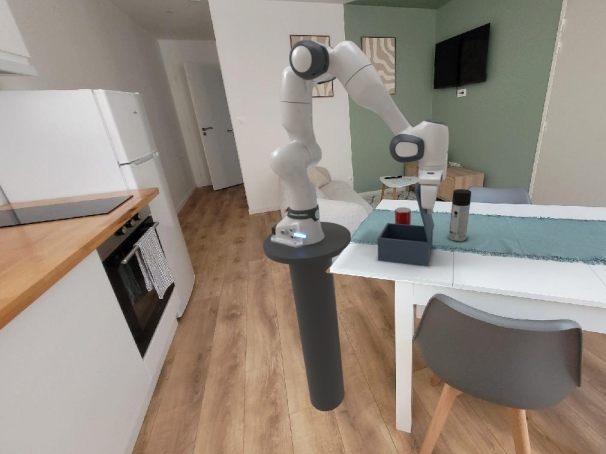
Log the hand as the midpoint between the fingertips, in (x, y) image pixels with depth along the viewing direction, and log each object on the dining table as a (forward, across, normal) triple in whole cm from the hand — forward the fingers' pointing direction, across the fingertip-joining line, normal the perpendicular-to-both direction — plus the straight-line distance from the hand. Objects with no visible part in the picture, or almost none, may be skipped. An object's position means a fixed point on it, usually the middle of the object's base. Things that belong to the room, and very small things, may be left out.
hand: (429, 212), depth 99 cm
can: (+17, -14, -12) cm, 25 cm away
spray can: (+17, -18, +10) cm, 27 cm away
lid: (-1, 0, -2) cm, 2 cm away
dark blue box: (+17, 0, -8) cm, 19 cm away
